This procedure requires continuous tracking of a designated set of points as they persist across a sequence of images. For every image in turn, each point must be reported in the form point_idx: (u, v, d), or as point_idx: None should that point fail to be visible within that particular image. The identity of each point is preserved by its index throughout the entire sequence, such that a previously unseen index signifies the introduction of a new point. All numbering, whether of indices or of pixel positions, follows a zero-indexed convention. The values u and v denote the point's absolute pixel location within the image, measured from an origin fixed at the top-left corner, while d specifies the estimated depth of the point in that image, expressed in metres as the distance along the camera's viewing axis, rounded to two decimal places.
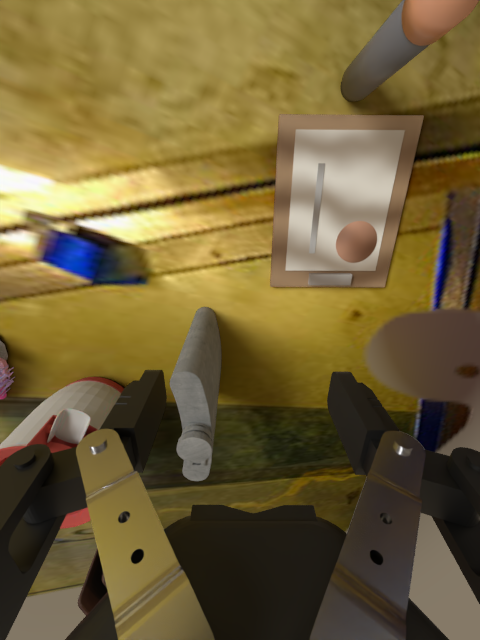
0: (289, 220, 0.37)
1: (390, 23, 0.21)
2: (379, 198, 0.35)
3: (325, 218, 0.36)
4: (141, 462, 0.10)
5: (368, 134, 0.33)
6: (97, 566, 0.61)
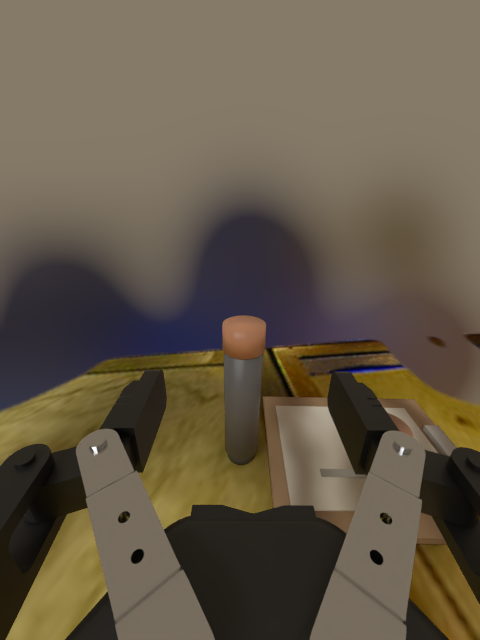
0: None
1: (241, 377, 0.24)
2: None
3: None
4: (141, 462, 0.10)
5: (283, 431, 0.32)
6: None
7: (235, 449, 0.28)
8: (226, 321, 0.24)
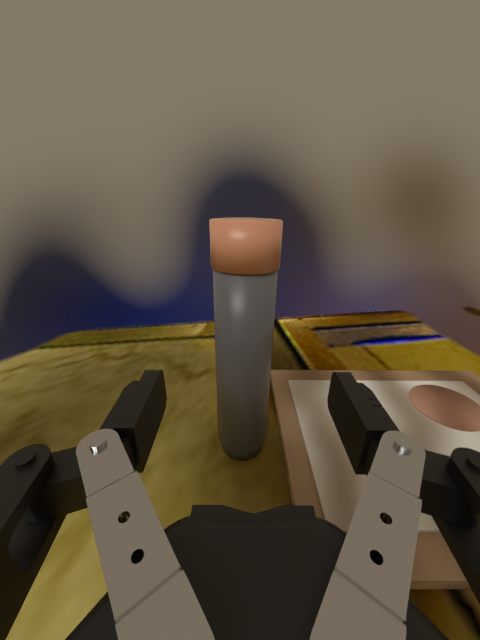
0: None
1: (242, 310, 0.14)
2: None
3: (449, 452, 0.19)
4: (141, 462, 0.10)
5: (301, 411, 0.22)
6: None
7: (233, 436, 0.18)
8: (216, 218, 0.15)
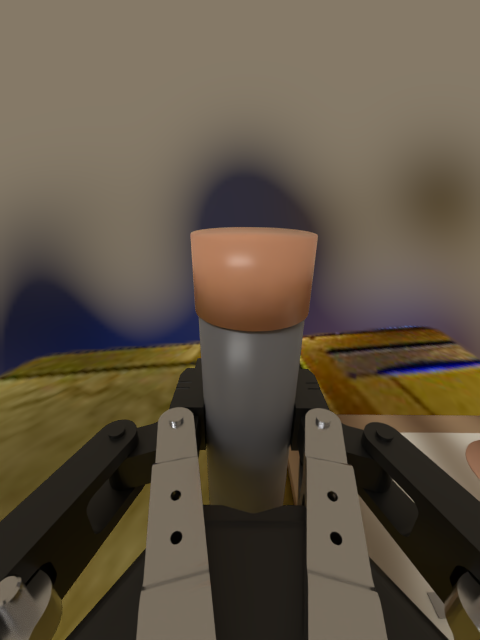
0: None
1: (248, 385, 0.08)
2: None
3: None
4: (205, 440, 0.11)
5: None
6: None
7: None
8: (203, 230, 0.09)
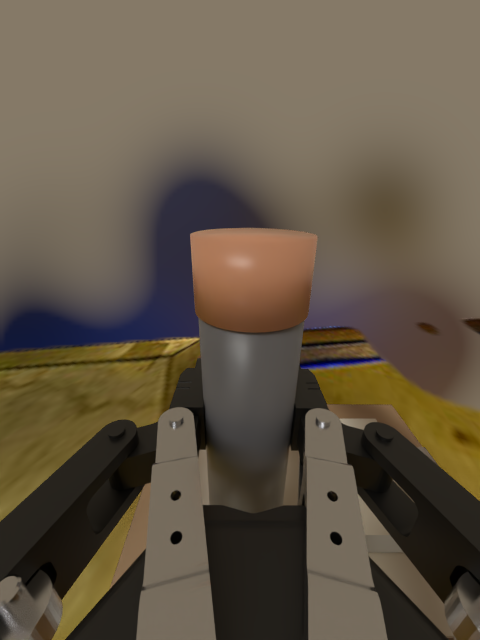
0: None
1: (247, 386, 0.08)
2: None
3: None
4: (205, 440, 0.11)
5: None
6: None
7: None
8: (203, 231, 0.09)
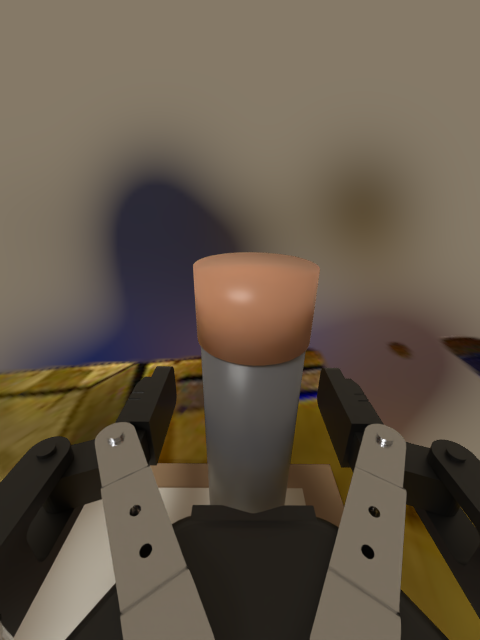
0: None
1: (249, 414, 0.09)
2: None
3: None
4: (155, 455, 0.10)
5: None
6: None
7: None
8: (206, 260, 0.09)
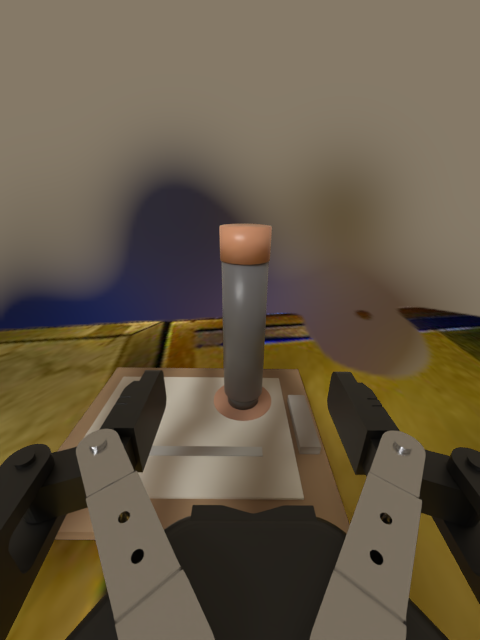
0: (201, 497, 0.18)
1: (243, 290, 0.20)
2: (189, 385, 0.28)
3: (205, 437, 0.22)
4: (141, 462, 0.10)
5: (110, 403, 0.26)
6: None
7: (236, 389, 0.24)
8: (224, 225, 0.20)
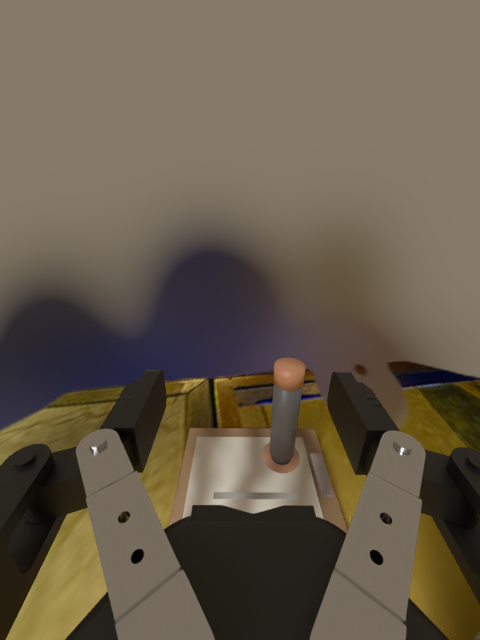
0: None
1: (288, 402, 0.34)
2: (243, 444, 0.42)
3: (262, 486, 0.36)
4: (141, 462, 0.10)
5: (195, 460, 0.40)
6: None
7: (279, 453, 0.38)
8: (276, 363, 0.34)
